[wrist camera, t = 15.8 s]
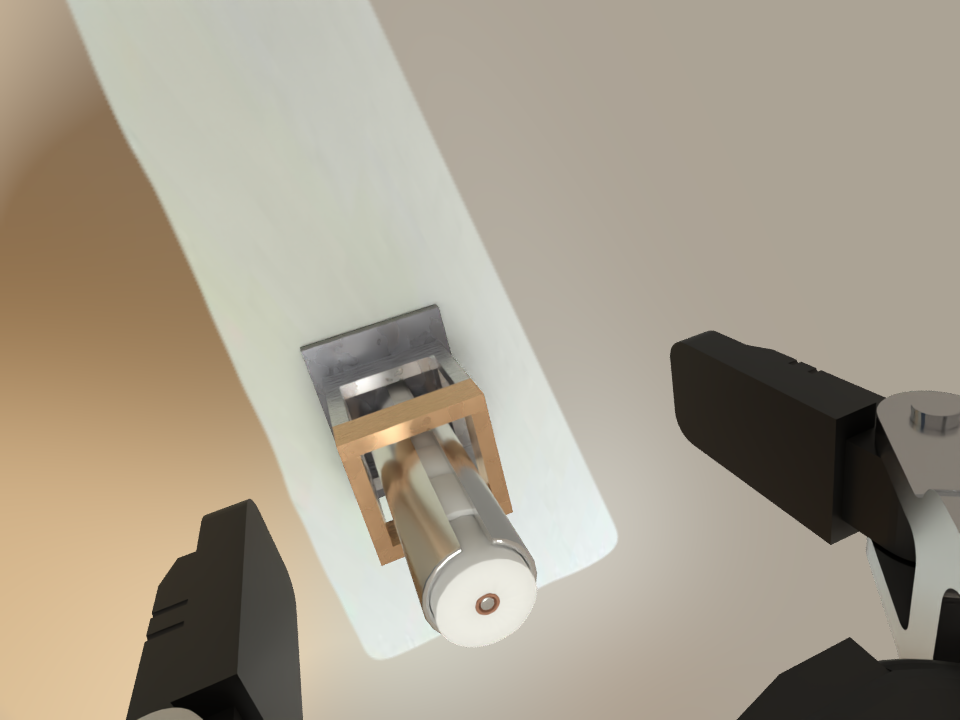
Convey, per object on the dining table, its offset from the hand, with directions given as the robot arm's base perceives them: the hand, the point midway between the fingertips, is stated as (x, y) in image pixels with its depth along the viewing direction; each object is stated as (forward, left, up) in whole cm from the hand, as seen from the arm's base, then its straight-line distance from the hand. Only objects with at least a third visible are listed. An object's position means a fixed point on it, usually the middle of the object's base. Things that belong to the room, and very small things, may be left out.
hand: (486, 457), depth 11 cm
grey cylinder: (+18, +1, -39) cm, 43 cm away
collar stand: (+18, +1, -40) cm, 44 cm away
